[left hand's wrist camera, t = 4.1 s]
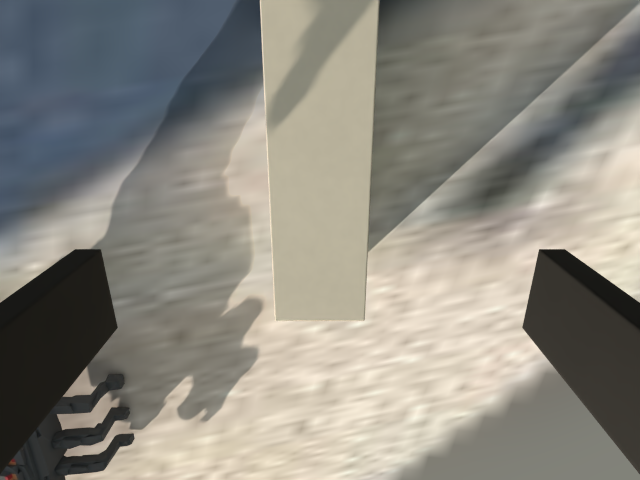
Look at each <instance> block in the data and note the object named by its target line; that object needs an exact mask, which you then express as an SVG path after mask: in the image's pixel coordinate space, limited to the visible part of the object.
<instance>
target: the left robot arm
mask: <svg viewBox="0 0 640 480" xmlns="http://www.w3.org/2000/svg"><path fill="white" fill-rule="evenodd" d="M116 329H117V323H116V318H115V314H114V309H113V304H112V300H111V295H110V290H109V286H108V281H107V276H106V272H105V267H104V262H103V258H102V253H101V249H75V250H74V251H72V252H71V253H69V254H68V255H67V256H65V257H64V258H62V259H61V260H60V261H58V262H57V263H55V264H54V265H53V266H51V267H50V268H48V269H47V270H46V271H44V272H43V273H41V274H40V275H39V276H37V277H36V278H34V279H33V280H32V281H30V282H29V283H27V284H26V285H25V286H23V287H22V288H20V289H19V290H18V291H16V292H15V293H13V294H12V295H11V296H9V297H8V298H6V299H5V300H4V301H2V302H1V303H0V474H1V473H2V471H3V470H4V469H5V468H6V466H7V465H8V464H9V463H10V461H11V460H12V459H13V458H14V456H15V455H16V454H17V453H18V451H19V450H20V449H21V448H22V446H23V445H24V444H25V443H26V441H27V440H28V439H29V438H30V436H31V435H32V434H33V433H34V431H35V430H36V429H37V428H38V426H39V425H40V424H41V423H42V421H43V420H44V419H45V418H46V416H47V415H48V414H49V413H50V411H51V410H52V409H53V408H54V406H55V405H56V404H57V403H58V401H59V400H60V399H61V398H62V396H63V395H64V394H65V393H66V391H67V390H68V389H69V388H70V386H71V385H72V384H73V383H74V381H75V380H76V379H77V378H78V376H79V375H80V374H81V373H82V371H83V370H84V369H85V368H86V366H87V365H88V364H89V363H90V361H91V360H92V359H93V358H94V356H95V355H96V354H97V353H98V351H99V350H100V349H101V348H102V346H103V345H104V344H105V343H106V341H107V340H108V339H109V338H110V336H111V335H112V334H113V333H114V331H115V330H116ZM523 329H524V330H525V331H526V333H527V334H528V335H529V336H530V338H531V339H532V340H533V341H534V343H535V344H536V345H537V346H538V348H539V349H540V350H541V351H542V353H543V354H544V355H545V356H546V358H547V359H548V360H549V361H550V363H551V364H552V365H553V366H554V368H555V369H556V370H557V371H558V373H559V374H560V375H561V376H562V378H563V379H564V380H565V381H566V383H567V384H568V385H569V386H570V388H571V389H572V390H573V391H574V393H575V394H576V395H577V396H578V398H579V399H580V400H581V401H582V403H583V404H584V405H585V406H586V408H587V409H588V410H589V411H590V413H591V414H592V415H593V416H594V418H595V419H596V420H597V421H598V423H599V424H600V425H601V426H602V428H603V429H604V430H605V431H606V433H607V434H608V435H609V436H610V438H611V439H612V440H613V441H614V443H615V444H616V445H617V446H618V448H619V449H620V450H621V451H622V453H623V454H624V455H625V456H626V458H627V459H628V460H629V461H630V463H631V464H632V465H633V466H634V468H635V469H636V470H637V471H638V473H639V474H640V303H639V302H638V301H636V300H635V299H634V298H632V297H631V296H629V295H628V294H627V293H625V292H624V291H622V290H621V289H620V288H618V287H617V286H615V285H614V284H613V283H611V282H610V281H608V280H607V279H606V278H604V277H603V276H601V275H600V274H599V273H597V272H596V271H594V270H593V269H592V268H590V267H589V266H587V265H586V264H585V263H583V262H582V261H580V260H579V259H578V258H576V257H575V256H573V255H572V254H571V253H569V252H568V251H566V250H565V249H539V253H538V258H537V262H536V267H535V272H534V276H533V281H532V286H531V290H530V295H529V300H528V304H527V309H526V314H525V318H524V323H523Z"/></svg>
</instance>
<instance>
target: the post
mask: <svg viewBox="0 0 640 480" xmlns="http://www.w3.org/2000/svg"><path fill="white" fill-rule="evenodd" d="M260 13H261V34H262V55H263V77H264V98H265V119H266V140H267V161H268V182H269V204H270V225H271V246H272V267H273V288H274V309H275V321H364V320H365V300H366V278H367V257H368V236H369V214H370V193H371V171H372V150H373V129H374V107H375V86H376V64H377V43H378V22H379V0H260Z"/></svg>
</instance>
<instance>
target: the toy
mask: <svg viewBox="0 0 640 480" xmlns="http://www.w3.org/2000/svg"><path fill="white" fill-rule="evenodd" d="M124 384H125V383H124V377H123V375H108V377H107V379H106V381H105V382H102V383H100V384H99V385H98V386H97V388H96V389H95V390H94V391H93V393H92V394H91V395H75V396H73V397H62V398H61V399H60V400H59V401H58V403H57V404H56V405H55V406H54V408H53V409H52V410H51V411H50V413H49V414H48V415H47V416H46V418H45V419H44V420H43V421H42V423H41V424H40V425H39V426H38V428H37V429H36V430H35V431H34V433H33V434H32V435H31V436H30V438H29V439H28V440H27V441H26V443H25V444H24V445H23V446H22V448H21V449H20V450H19V451H18V453H17V454H16V455H15V456H14V458H13V459H12V460H11V461H10V463H9V464H8V465H7V466H6V468H5V469H4V470H3V471H2V473H1V474H0V480H65V475H70V474H82V473H91V472H99V471H103V470H104V469H105V468H106V467H107V465H108V464H109V462H110V461H111V459H112V458H113V456H114V455H115V453H116V452H117V450H118V449H119V447H121V446H128V445H130V444H132V442H133V440H134V434H119V435H116V436H115V437H114V439H113V440H112V442H111V443H110V445H109V446H108V448H107V449H106V450H105V451H104V452H102V453H100V454H98V455H83V456H71V457H66V456H64V454H65V452H66V451H67V449H71V448H74V447H76V446H79V445H93V444H96V443H98V442H101V441H103V440H104V438H105V437H106V435H107V433H108V432H109V430H110V428H111V427H112V425H113V423H114V422H115V421H117V420H123V419H127V417H128V416H129V414H130V411H129V408H113V407H112V408H111V410H110V411H109V413H108V414H107V416H106V418H105V419H104V421H103V422H102V424H101V423H98V424H97V426H96V427H95V428H77V429H65V430H62V428H61V424H60V422H59V419H58V417H57V414H74V413H88V412H91V411H92V410H93V408H94V407H95V405H96V404H97V402H98V401H99V400H100V398H101V397H102V396H104V395H105V394H106V393H107V392H108V391H110V390H117V389H121V388H122V387H123V385H124Z"/></svg>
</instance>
